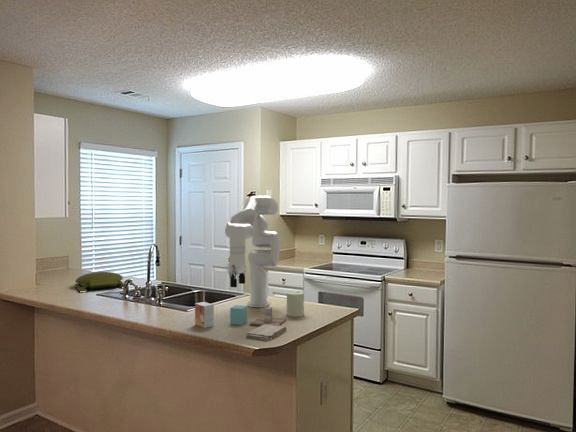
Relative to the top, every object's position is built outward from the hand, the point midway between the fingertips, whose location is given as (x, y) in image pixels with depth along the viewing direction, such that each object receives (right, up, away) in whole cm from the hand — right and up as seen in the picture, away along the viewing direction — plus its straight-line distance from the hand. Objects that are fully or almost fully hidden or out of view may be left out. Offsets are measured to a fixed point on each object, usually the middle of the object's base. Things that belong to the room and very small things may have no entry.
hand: (237, 285), depth 222 cm
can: (+28, -18, +16) cm, 37 cm away
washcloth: (+15, -20, -18) cm, 30 cm away
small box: (-16, -19, -3) cm, 25 cm away
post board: (+15, -19, 0) cm, 24 cm away
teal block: (0, -19, +1) cm, 19 cm away
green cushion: (-106, -16, +95) cm, 144 cm away
